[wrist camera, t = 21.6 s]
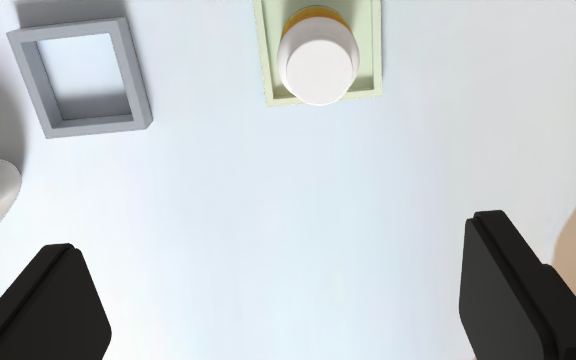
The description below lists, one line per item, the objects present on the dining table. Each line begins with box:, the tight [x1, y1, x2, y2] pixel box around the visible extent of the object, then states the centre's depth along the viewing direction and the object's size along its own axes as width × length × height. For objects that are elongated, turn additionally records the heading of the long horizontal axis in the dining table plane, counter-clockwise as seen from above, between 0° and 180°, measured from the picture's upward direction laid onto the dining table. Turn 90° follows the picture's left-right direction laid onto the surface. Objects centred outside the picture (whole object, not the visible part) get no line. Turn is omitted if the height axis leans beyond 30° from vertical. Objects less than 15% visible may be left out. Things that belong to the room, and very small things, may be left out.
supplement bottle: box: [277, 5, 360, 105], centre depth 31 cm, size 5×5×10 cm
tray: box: [252, 0, 382, 107], centre depth 35 cm, size 9×9×2 cm
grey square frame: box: [6, 16, 153, 139], centre depth 37 cm, size 9×9×2 cm
